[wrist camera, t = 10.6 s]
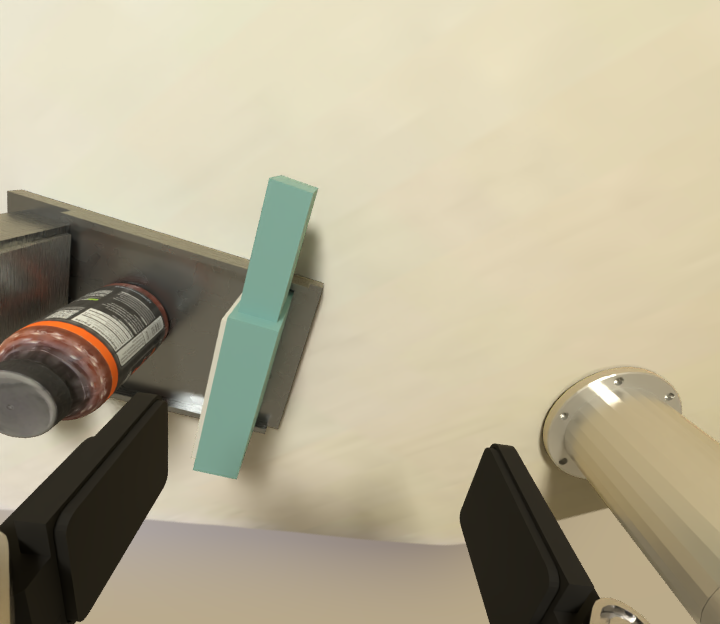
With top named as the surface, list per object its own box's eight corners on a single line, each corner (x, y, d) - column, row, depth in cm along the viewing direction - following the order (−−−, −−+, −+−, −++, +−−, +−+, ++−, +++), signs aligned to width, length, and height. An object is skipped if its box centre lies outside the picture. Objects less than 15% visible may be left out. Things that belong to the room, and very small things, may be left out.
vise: (323, 283, 29) (316, 325, 22) (280, 420, 34) (261, 494, 27) (4, 184, 26) (-138, 194, 18) (6, 353, 31) (-105, 417, 23)
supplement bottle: (130, 363, 30) (15, 472, 20) (73, 304, 28) (-89, 391, 17) (188, 329, 29) (100, 424, 19) (134, 265, 27) (1, 332, 16)
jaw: (324, 187, 25) (317, 197, 19) (258, 415, 32) (236, 479, 26) (275, 170, 25) (251, 174, 18) (219, 406, 32) (186, 468, 25)
